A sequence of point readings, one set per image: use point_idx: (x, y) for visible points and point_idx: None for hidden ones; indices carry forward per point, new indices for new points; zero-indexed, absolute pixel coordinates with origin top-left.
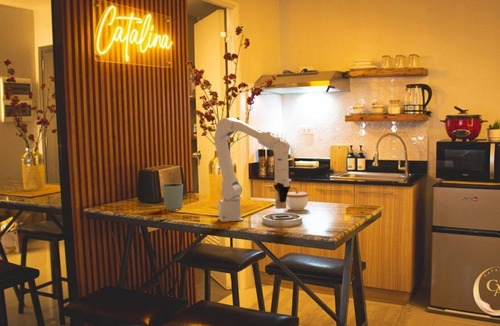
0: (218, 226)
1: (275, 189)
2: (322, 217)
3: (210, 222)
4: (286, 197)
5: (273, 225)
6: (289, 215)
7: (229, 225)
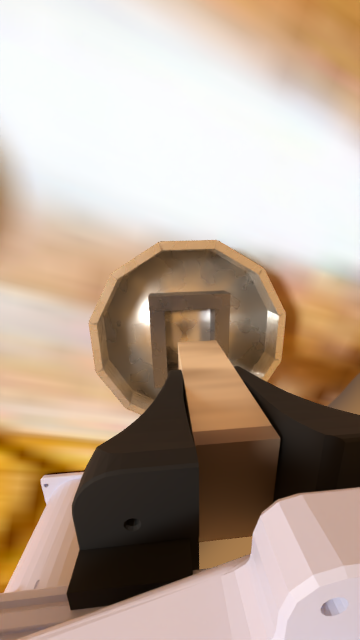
0: None
1: (214, 536)
2: (113, 67)
3: None
4: (260, 379)
5: None
6: (173, 300)
7: None
